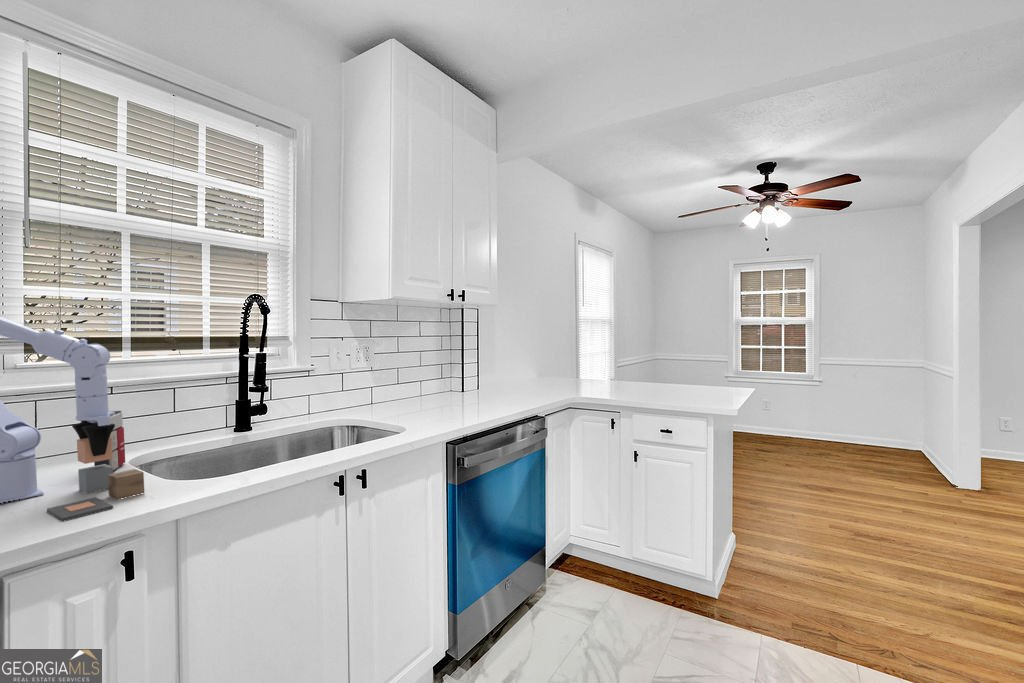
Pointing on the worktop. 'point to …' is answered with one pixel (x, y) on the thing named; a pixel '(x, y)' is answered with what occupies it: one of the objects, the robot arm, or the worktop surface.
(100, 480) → the slate block
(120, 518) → the worktop surface
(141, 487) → the walnut block
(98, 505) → the board
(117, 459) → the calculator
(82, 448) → the terracotta block
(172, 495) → the worktop surface
